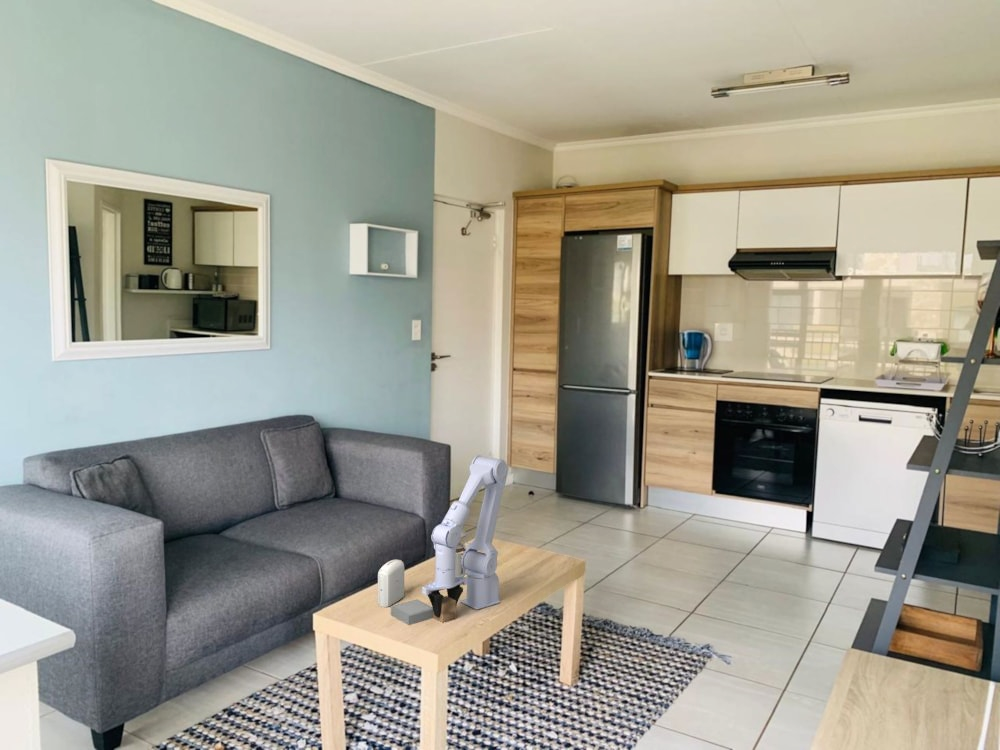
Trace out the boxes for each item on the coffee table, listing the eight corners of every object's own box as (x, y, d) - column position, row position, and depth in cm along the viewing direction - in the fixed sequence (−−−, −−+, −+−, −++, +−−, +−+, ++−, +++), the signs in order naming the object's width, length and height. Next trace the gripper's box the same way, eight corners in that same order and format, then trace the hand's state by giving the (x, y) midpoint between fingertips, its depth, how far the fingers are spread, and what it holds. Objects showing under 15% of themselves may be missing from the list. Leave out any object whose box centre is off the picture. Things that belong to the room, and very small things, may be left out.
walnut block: (445, 614, 214) (446, 595, 214) (455, 619, 211) (455, 600, 210) (433, 618, 211) (433, 599, 211) (442, 623, 208) (443, 604, 207)
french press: (455, 567, 255) (456, 495, 253) (478, 575, 247) (480, 501, 245) (433, 573, 248) (434, 500, 246) (456, 582, 240) (458, 506, 238)
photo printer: (387, 608, 217) (388, 567, 216) (375, 606, 219) (375, 565, 218) (406, 597, 227) (406, 557, 226) (394, 594, 228) (394, 555, 227)
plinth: (416, 607, 219) (417, 599, 219) (434, 617, 212) (435, 608, 212) (390, 614, 213) (391, 606, 213) (408, 625, 206) (408, 616, 206)
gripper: (457, 558, 218) (456, 603, 219) (416, 568, 208) (415, 615, 209) (472, 564, 212) (471, 611, 213) (430, 575, 203) (429, 623, 204)
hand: (444, 613), depth 211 cm, fingers closed on walnut block, 4 cm apart
